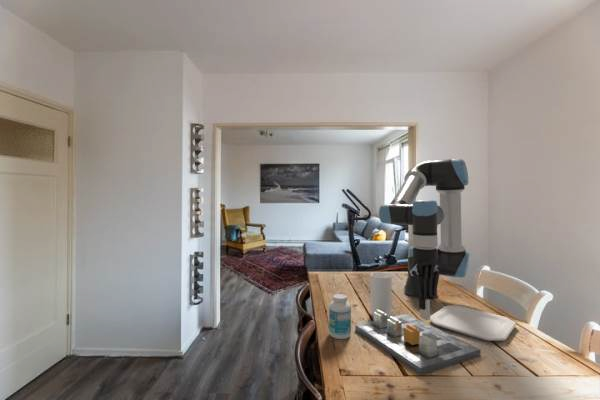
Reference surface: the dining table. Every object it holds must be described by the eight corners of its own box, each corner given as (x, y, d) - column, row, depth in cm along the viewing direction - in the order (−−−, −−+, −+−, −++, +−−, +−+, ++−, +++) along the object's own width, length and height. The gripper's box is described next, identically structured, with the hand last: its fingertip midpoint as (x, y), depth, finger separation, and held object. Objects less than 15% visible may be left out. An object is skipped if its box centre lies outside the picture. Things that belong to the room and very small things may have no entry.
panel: (406, 318, 117) (406, 300, 117) (480, 355, 90) (480, 331, 90) (355, 330, 108) (355, 310, 107) (420, 375, 80) (420, 348, 80)
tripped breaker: (411, 338, 96) (411, 323, 96) (419, 343, 93) (419, 327, 93) (403, 340, 95) (403, 324, 95) (412, 345, 92) (412, 329, 92)
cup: (392, 319, 117) (392, 278, 117) (370, 317, 119) (370, 277, 119) (390, 311, 125) (390, 272, 125) (370, 309, 127) (370, 271, 127)
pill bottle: (327, 330, 107) (327, 292, 107) (347, 330, 108) (347, 292, 108) (331, 340, 100) (331, 300, 100) (353, 339, 100) (353, 299, 100)
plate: (448, 308, 130) (448, 303, 130) (518, 325, 112) (518, 319, 112) (424, 325, 112) (424, 319, 112) (502, 349, 95) (502, 342, 94)
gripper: (430, 243, 105) (430, 310, 106) (401, 247, 100) (401, 317, 100) (448, 247, 98) (448, 318, 99) (419, 251, 93) (419, 326, 93)
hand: (425, 318), depth 100 cm, fingers closed
